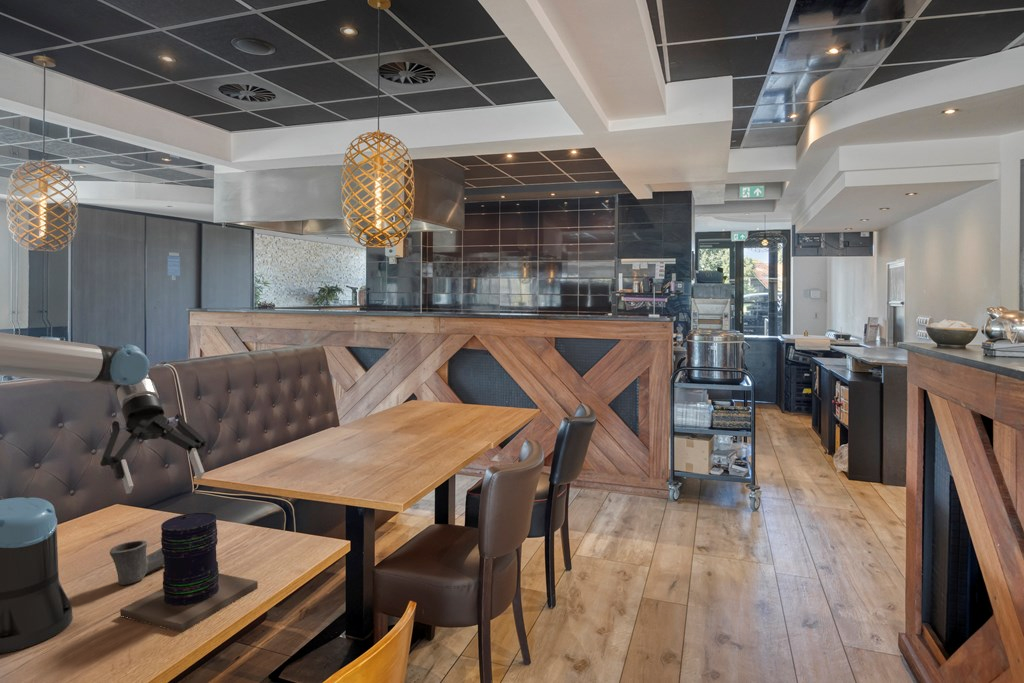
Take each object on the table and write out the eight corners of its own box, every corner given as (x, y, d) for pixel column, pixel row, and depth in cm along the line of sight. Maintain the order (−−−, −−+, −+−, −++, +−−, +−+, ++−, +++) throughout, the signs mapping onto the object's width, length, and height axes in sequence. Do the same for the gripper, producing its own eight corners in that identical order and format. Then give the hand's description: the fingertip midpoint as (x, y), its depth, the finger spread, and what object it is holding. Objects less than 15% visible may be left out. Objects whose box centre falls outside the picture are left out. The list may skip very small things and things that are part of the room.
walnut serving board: (182, 632, 106) (181, 624, 106) (120, 616, 112) (120, 609, 112) (257, 588, 123) (257, 581, 123) (200, 576, 128) (200, 569, 128)
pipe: (176, 566, 134) (175, 532, 134) (123, 591, 122) (122, 554, 121) (156, 562, 136) (155, 529, 135) (102, 587, 124) (101, 550, 123)
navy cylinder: (227, 593, 118) (225, 520, 117) (174, 612, 110) (171, 534, 109) (207, 578, 124) (205, 509, 123) (156, 595, 117) (153, 521, 116)
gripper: (194, 407, 143) (222, 479, 135) (70, 421, 125) (92, 506, 116) (203, 388, 140) (232, 461, 131) (76, 399, 121) (100, 485, 112)
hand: (167, 482), depth 123 cm, fingers open, 13 cm apart
